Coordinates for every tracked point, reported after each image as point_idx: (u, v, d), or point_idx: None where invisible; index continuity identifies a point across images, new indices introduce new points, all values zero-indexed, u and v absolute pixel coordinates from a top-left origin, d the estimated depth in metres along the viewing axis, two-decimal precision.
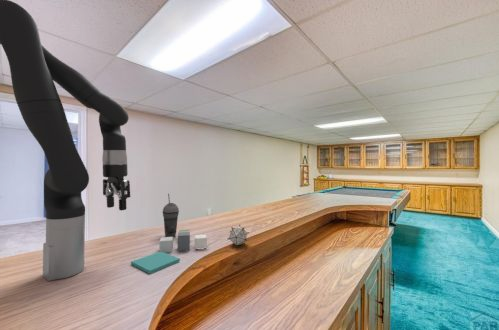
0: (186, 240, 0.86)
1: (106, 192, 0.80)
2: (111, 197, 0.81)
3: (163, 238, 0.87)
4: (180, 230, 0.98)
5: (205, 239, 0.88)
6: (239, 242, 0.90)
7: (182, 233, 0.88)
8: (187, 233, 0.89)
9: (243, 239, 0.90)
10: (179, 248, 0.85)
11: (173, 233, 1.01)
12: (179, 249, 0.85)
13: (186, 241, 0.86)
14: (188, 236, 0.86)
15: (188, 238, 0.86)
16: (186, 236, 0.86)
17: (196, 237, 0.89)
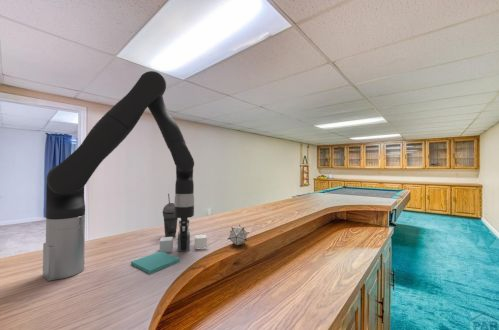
0: None
1: None
2: None
3: (163, 238, 0.87)
4: None
5: (205, 239, 0.88)
6: (239, 242, 0.90)
7: None
8: None
9: (243, 239, 0.90)
10: (179, 248, 0.85)
11: (173, 233, 1.01)
12: (179, 249, 0.85)
13: None
14: (188, 236, 0.86)
15: (188, 238, 0.86)
16: None
17: (196, 237, 0.89)
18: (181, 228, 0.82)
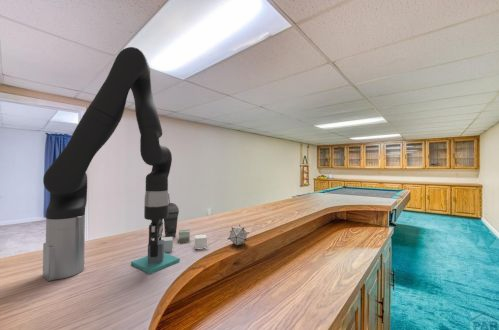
0: (158, 250, 0.73)
1: (158, 238, 0.71)
2: None
3: (163, 238, 0.87)
4: (180, 230, 0.98)
5: (205, 239, 0.88)
6: (239, 242, 0.90)
7: None
8: (160, 241, 0.75)
9: (243, 239, 0.90)
10: (149, 260, 0.72)
11: (173, 233, 1.01)
12: (149, 261, 0.72)
13: (158, 252, 0.73)
14: (160, 245, 0.73)
15: (160, 248, 0.73)
16: (158, 245, 0.73)
17: (196, 237, 0.89)
18: (150, 228, 0.68)
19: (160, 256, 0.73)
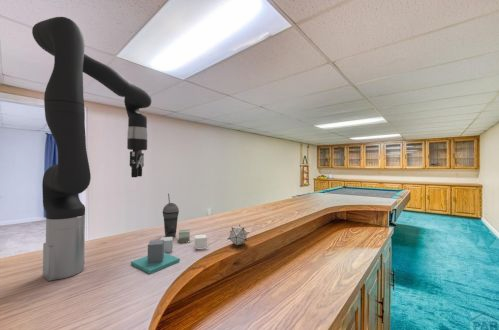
0: (158, 250, 0.73)
1: (137, 163, 0.90)
2: None
3: (163, 238, 0.87)
4: (180, 230, 0.98)
5: (205, 239, 0.88)
6: (239, 242, 0.90)
7: (154, 241, 0.75)
8: (160, 241, 0.75)
9: (243, 239, 0.90)
10: (149, 260, 0.72)
11: (173, 233, 1.01)
12: (149, 261, 0.72)
13: (158, 252, 0.73)
14: (160, 245, 0.73)
15: (160, 248, 0.73)
16: (158, 245, 0.73)
17: (196, 237, 0.89)
18: (131, 152, 0.87)
19: (160, 256, 0.73)
